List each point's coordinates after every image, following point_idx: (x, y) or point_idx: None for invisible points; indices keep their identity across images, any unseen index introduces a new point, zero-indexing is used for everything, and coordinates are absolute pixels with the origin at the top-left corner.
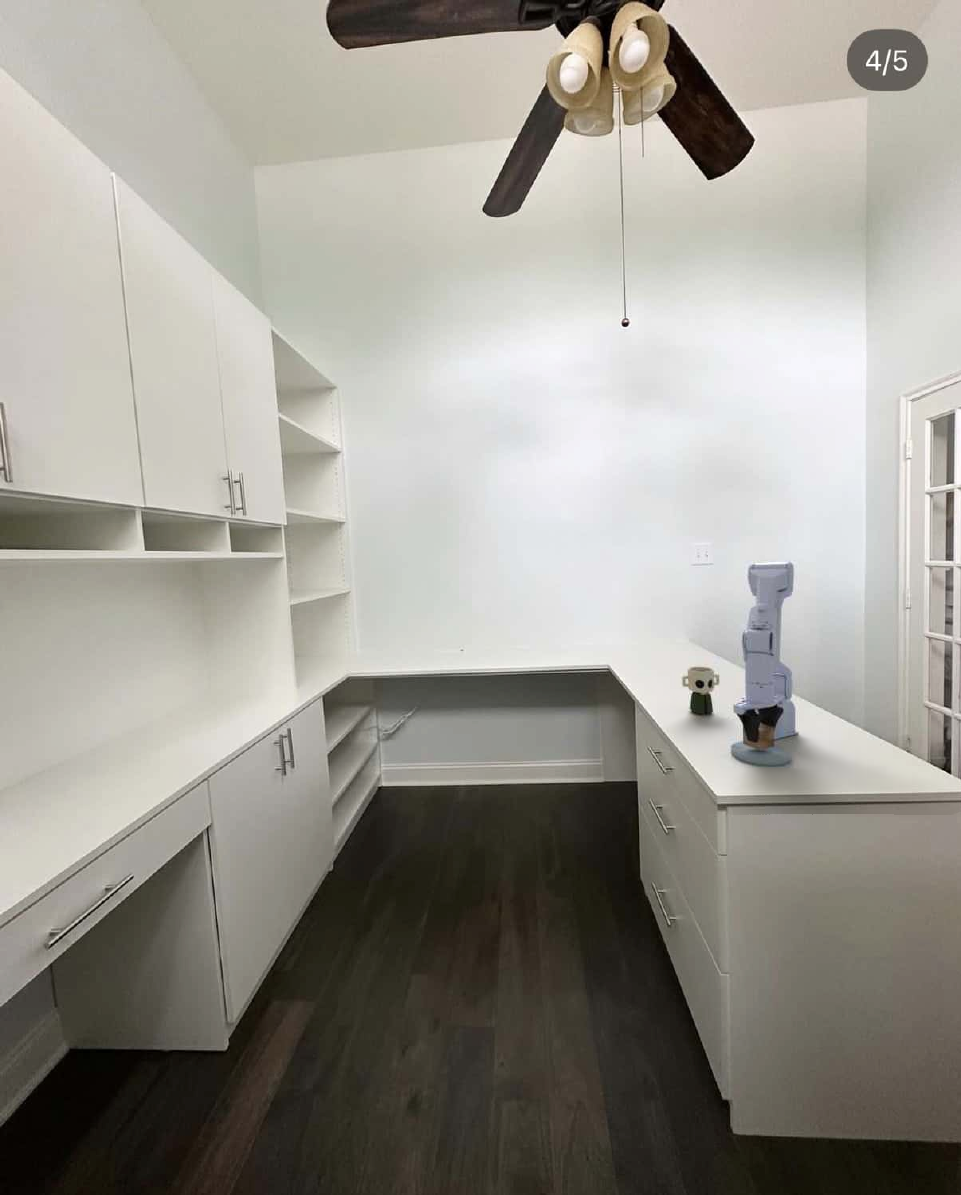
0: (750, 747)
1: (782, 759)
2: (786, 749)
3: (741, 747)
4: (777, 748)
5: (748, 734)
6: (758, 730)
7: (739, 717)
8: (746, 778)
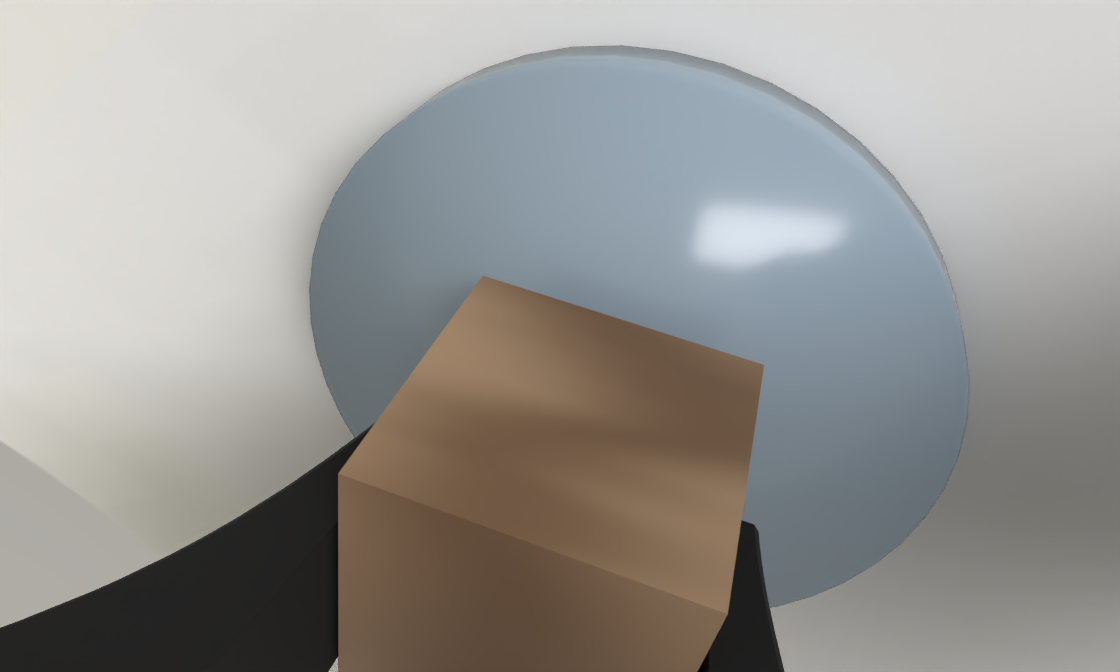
0: (614, 296)
1: None
2: (840, 583)
3: (528, 212)
4: (806, 519)
5: None
6: (321, 667)
7: (28, 629)
8: (117, 397)
